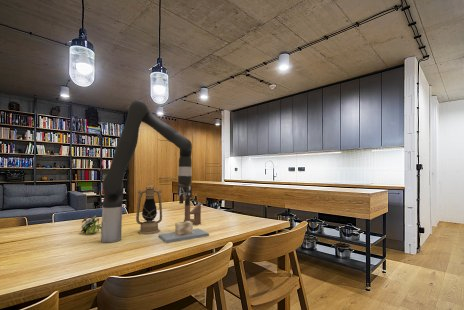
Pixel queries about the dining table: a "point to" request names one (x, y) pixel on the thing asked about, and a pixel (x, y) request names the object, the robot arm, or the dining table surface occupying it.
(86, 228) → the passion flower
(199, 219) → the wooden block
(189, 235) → the slate board
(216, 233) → the dining table surface
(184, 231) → the sanding block
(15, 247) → the dining table surface
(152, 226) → the lantern
